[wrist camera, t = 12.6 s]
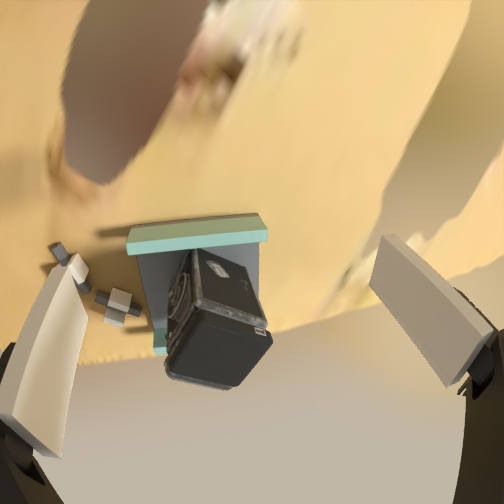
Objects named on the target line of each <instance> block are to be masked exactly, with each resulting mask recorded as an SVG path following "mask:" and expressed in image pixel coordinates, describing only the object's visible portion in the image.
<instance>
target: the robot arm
mask: <svg viewBox="0 0 504 504" xmlns="http://www.w3.org/2000/svg"><path fill="white" fill-rule="evenodd" d="M369 286H370V287H371V289H372V290H373V291H374V292H375V293H376V295H377V296H378V297H379V298H380V300H381V301H382V302H383V303H384V305H385V306H386V307H387V308H388V310H389V311H390V312H391V313H392V315H393V316H394V317H395V319H396V320H397V321H398V323H399V324H400V325H401V326H402V328H403V329H404V330H405V332H406V333H407V334H408V336H409V337H410V338H411V340H412V341H413V342H414V344H415V345H416V346H417V348H418V349H419V350H420V352H421V353H422V354H423V356H424V357H425V359H426V360H427V361H428V363H429V364H430V365H431V367H432V368H433V370H434V371H435V373H436V374H437V375H438V377H439V378H440V380H441V381H442V382H443V384H444V385H445V387H446V388H448V387H450V386H452V385H453V384H455V383H457V382H459V381H460V379H461V378H462V377H463V375H464V374H465V373H466V371H467V372H468V373H469V374H470V376H469V377H468V378H467V380H466V381H465V383H464V384H463V385H462V386H461V388H460V389H459V390H458V393H457V394H458V395H460V394H461V392H462V391H463V390H464V389H465V388H466V391H465V392H464V394H463V396H466V413H465V428H464V439H463V448H462V456H461V463H460V469H459V476H458V481H457V486H456V491H455V495H454V500H453V504H504V329H503V330H500V332H499V331H498V330H497V329H496V328H495V327H494V326H493V325H492V323H491V322H490V321H489V320H488V319H487V318H486V317H485V316H484V315H483V314H482V313H481V311H480V310H479V309H478V308H475V305H474V304H473V303H472V302H469V299H468V298H467V297H466V296H465V295H464V294H463V293H462V292H461V291H459V290H457V289H456V288H454V287H452V286H451V285H450V284H449V283H448V282H447V281H446V280H445V279H444V278H443V277H442V276H441V275H440V274H439V273H438V272H437V271H436V270H434V269H433V268H432V267H431V266H430V265H429V264H428V263H427V262H426V261H425V260H424V259H422V258H421V257H420V256H419V255H418V254H417V253H416V252H415V251H413V250H412V249H411V248H410V247H409V246H408V245H407V244H405V243H404V242H403V241H402V240H401V239H400V238H398V237H397V236H396V235H395V234H391V235H382V236H381V240H380V244H379V248H378V252H377V256H376V260H375V264H374V268H373V272H372V276H371V279H370V283H369ZM87 322H88V316H87V314H86V311H85V309H84V307H83V304H82V301H81V299H80V296H79V294H78V291H77V288H76V286H75V283H74V280H73V277H72V275H71V272H70V269H69V266H64V267H54V268H52V270H51V272H50V274H49V276H48V277H47V279H46V281H45V283H44V285H43V287H42V289H41V291H40V292H39V294H38V296H37V298H36V300H35V302H34V304H33V306H32V308H31V311H30V313H29V315H28V317H27V319H26V321H25V323H24V326H23V328H22V330H21V332H20V335H19V337H18V339H17V342H16V343H13V342H11V343H10V344H9V346H8V347H7V348H6V349H5V350H4V352H3V353H2V356H1V358H0V504H64V503H63V501H62V500H61V498H60V497H59V495H58V494H57V493H56V491H55V489H54V488H53V486H52V485H51V483H50V482H49V480H48V479H47V477H46V475H45V474H44V472H43V470H42V469H41V467H40V466H39V463H38V462H37V460H36V459H35V458H34V456H32V455H33V448H34V449H35V450H37V452H39V453H40V454H41V455H43V456H47V457H53V458H59V459H62V452H63V443H64V434H65V427H66V420H67V413H68V406H69V401H70V396H71V390H72V385H73V380H74V375H75V370H76V366H77V362H78V357H79V353H80V349H81V345H82V341H83V337H84V333H85V330H86V326H87Z"/></svg>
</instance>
